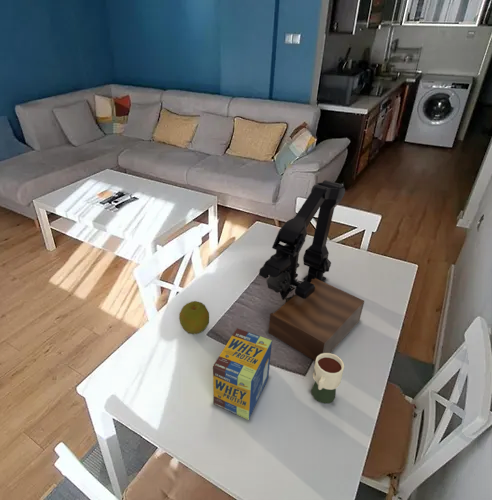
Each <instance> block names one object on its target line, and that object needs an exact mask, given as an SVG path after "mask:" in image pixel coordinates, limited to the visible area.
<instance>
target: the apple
mask: <svg viewBox="0 0 492 500" xmlns="http://www.w3.org/2000/svg"><path fill="white" fill-rule="evenodd" d="M178 316H179V317H178V319H179V324H180V326H181V327H182V329H183V330H184V331H185V332H186V333H188V334H191V335H198V334H202V332H204V331H205V330H206V328H208V326H209V324H210V311H209V310H208V308H207V307H206V304H203V302H201V301H197V300H194V301H190V302H188V303H186V304H185V305H183V306H182V308H181V310H180V312H179V315H178Z"/></svg>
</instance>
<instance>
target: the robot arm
mask: <svg viewBox="0 0 492 500" xmlns="http://www.w3.org/2000/svg"><path fill="white" fill-rule="evenodd" d="M315 183H316V184H314V185H313V186H312V188H311V190H310V194H309V195H308V197H307V198H306V199H305V200H304V202H303V204H302V205H301V206H300V208H299V210H298V212H297V213H296V215H295V216H294V217H293V218H290V219H289V220H286V221H285V223H284V224H283V226H282V227H280V229H279V230H278V232H277V235H276V237H275V239H274V242H273V244H272V247H271V249H273V250H275V253H274V254H272V255H271V256H270V257H269V258H268V259H267V260H266V261H264V263H263V266H262V267H259V270H258V275H259V276H260V277H261V278H264V279H266V285H267V288H268V289H270V290H271V291H273V292H275V293H278V294H280V297H281V300H282V301H285V300H286V298H288V297H289V294H290V293H292V292H293V291H294V293H295V294H296V295H297V296H299V297H301V298H303V299H306V298H307V297H308V296H310V295H311V294H312V293H313V292H314V291H315V285H314V284H312V283H310V282H311V280H312V279H315V278H316V279H318V280H320V281H323V282H325V281H326V280H327V277H325V276H324V274H326V273H327V272H330V268H331V266H332V262H331V261H330V259H329V250H328V247H327V242H328V238H329V233H330V228H331V224H332V220H333V216H334V212H335V208H336V207H337V206H338V205H339V204H340V203H341V202H342V199H343V198H344V196H345V194H346V189H345V187H344V184H342V183H338V182H334V181H330V180H327V179H324V180H323V181H322V182H315ZM317 213H318V215H317V218H316V224H315V229H314V234H313V237H312V243H311V245H310V246H309V247H308V248H307V249H305V251H304V254H303V257H302V261H303V266H306V267H308V270H307V275H305V276H304V277H303V279H302V282H300V279H298V277H299V274H298V272H297V270H298V268H299V267H300V263H299V257H300V256H299V255H300V252H301V250H302V248H303V246H304V245H305V242H306V238H307V235H308V231H307V230H308V229H307V228H308V226H309V225H310V223H311V221H312V220H313V219H314V217H315V216H316V214H317ZM281 243H283V244H281Z"/></svg>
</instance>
